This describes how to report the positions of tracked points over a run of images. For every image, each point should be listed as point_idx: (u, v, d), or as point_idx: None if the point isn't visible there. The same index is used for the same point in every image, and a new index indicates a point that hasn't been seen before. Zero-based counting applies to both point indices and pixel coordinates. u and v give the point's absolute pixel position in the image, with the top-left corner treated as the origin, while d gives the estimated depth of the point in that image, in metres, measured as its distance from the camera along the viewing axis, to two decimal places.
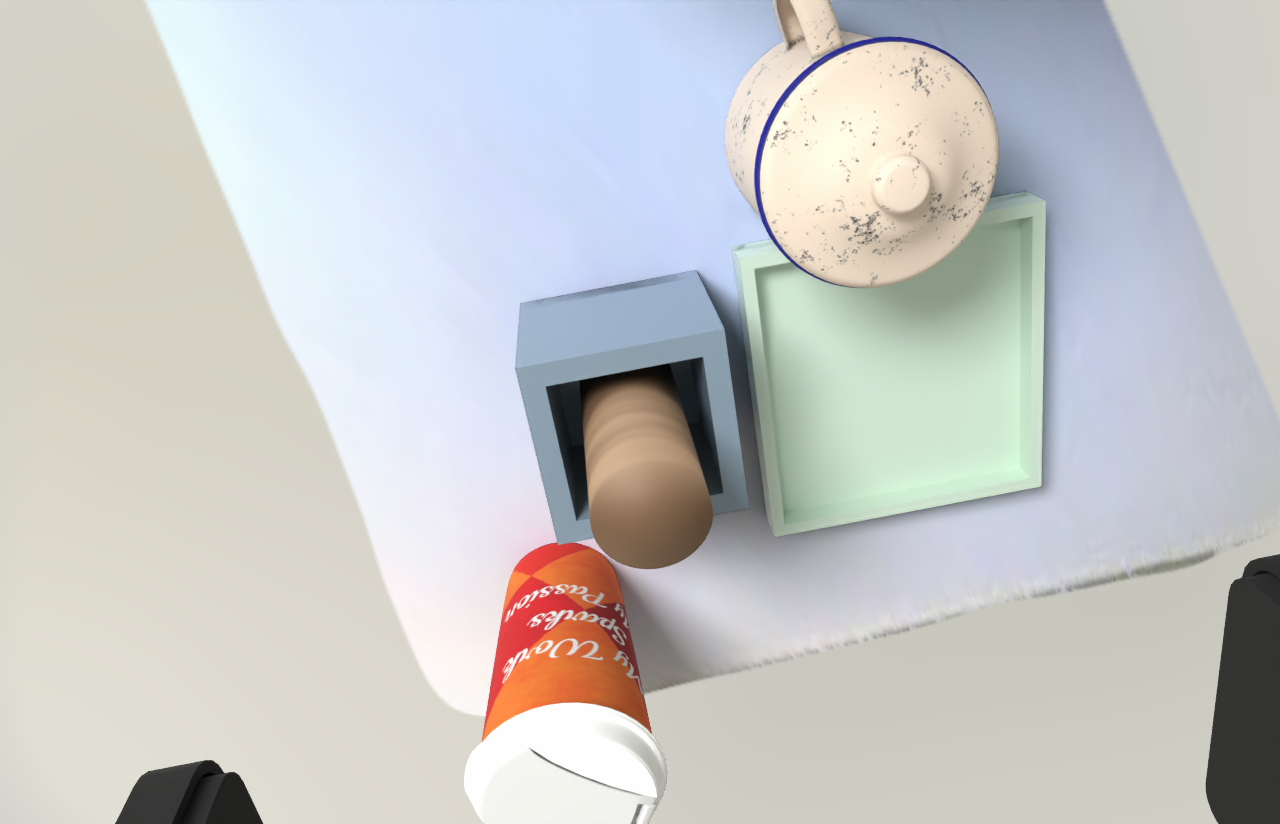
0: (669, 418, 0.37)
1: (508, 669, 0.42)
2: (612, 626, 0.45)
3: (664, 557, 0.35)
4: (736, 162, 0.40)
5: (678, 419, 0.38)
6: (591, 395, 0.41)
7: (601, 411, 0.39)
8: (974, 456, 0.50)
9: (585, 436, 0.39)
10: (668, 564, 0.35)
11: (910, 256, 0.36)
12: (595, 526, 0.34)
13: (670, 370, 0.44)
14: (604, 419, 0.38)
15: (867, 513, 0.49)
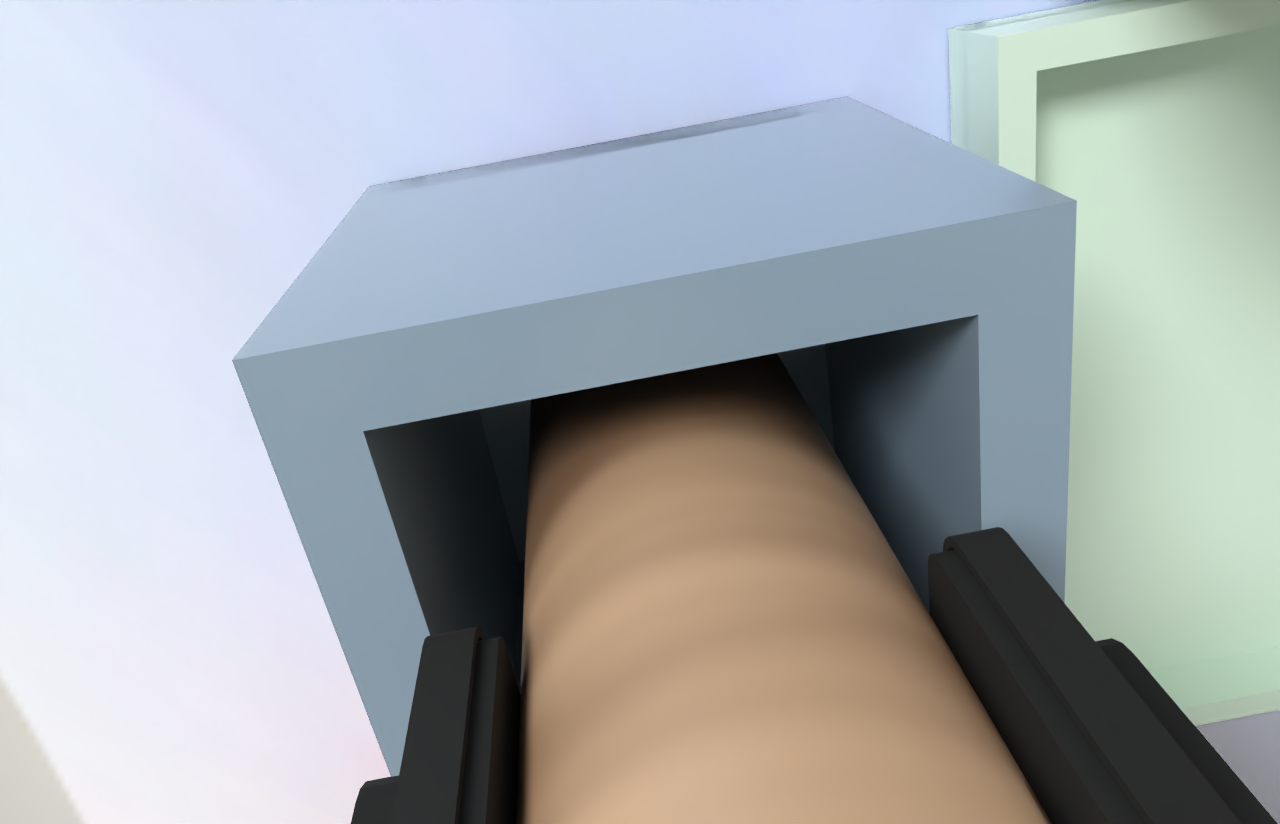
0: (871, 576, 0.09)
1: None
2: None
3: None
4: None
5: (891, 566, 0.09)
6: (553, 452, 0.12)
7: (582, 525, 0.10)
8: None
9: (525, 612, 0.11)
10: None
11: None
12: None
13: None
14: (592, 568, 0.09)
15: (1223, 708, 0.21)
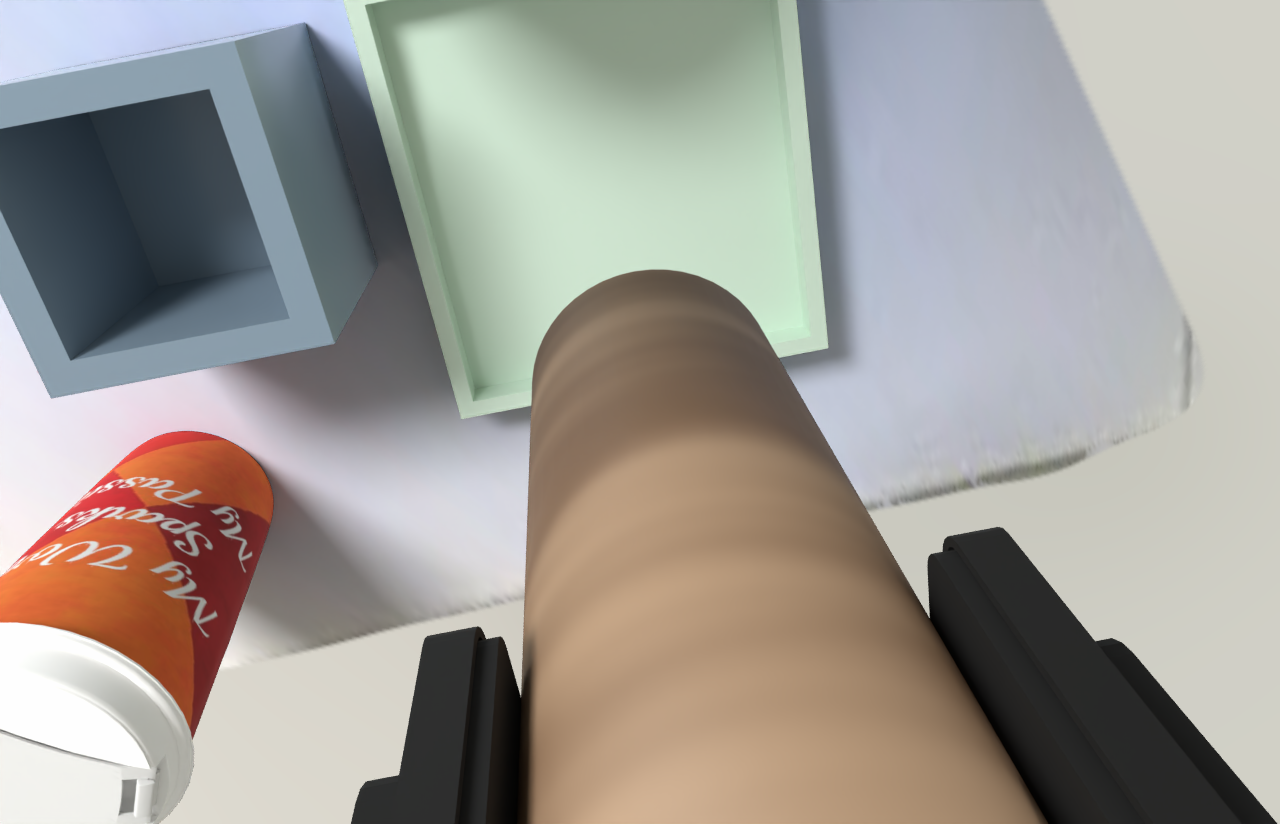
0: (871, 580, 0.09)
1: None
2: (184, 531, 0.32)
3: None
4: None
5: (891, 571, 0.10)
6: (554, 456, 0.12)
7: (583, 529, 0.10)
8: None
9: (526, 616, 0.11)
10: None
11: None
12: None
13: None
14: (593, 572, 0.09)
15: None
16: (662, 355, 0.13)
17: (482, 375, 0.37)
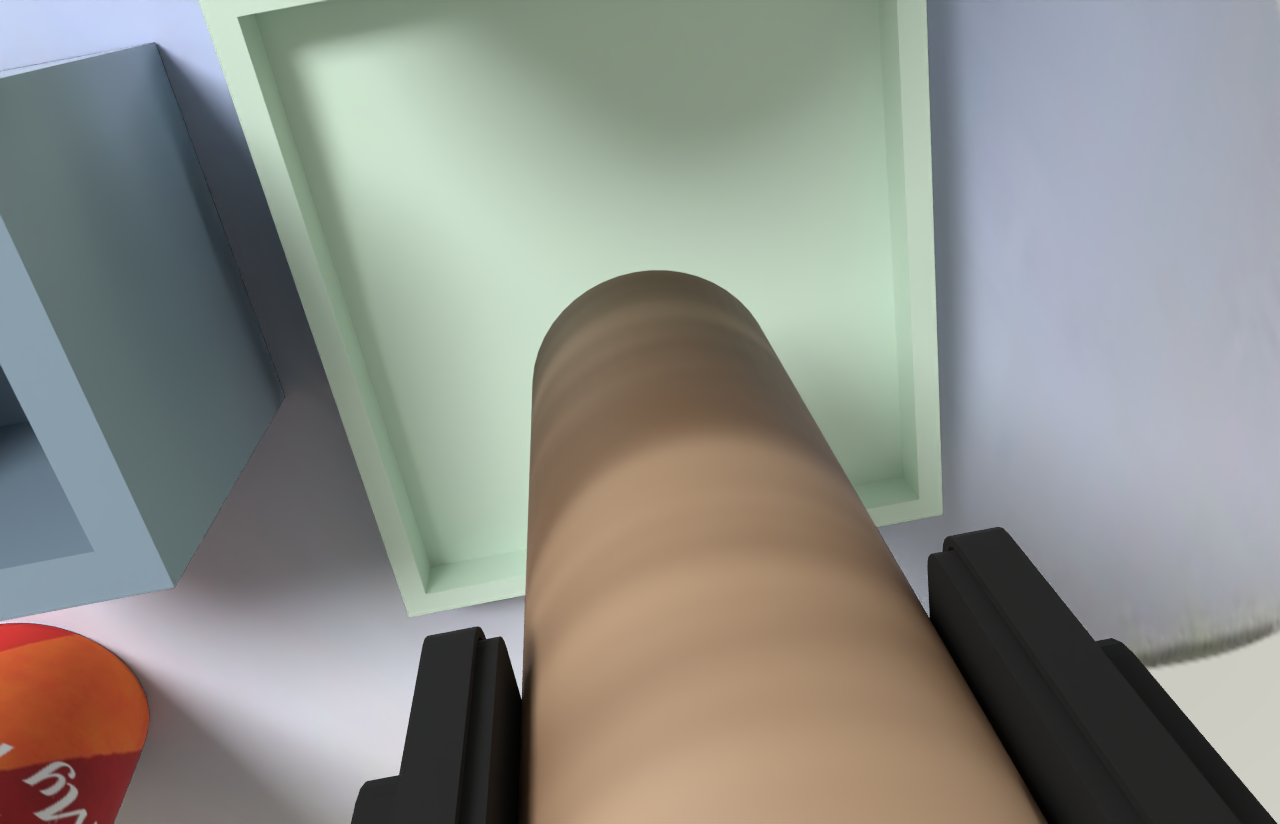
0: (872, 581, 0.09)
1: None
2: None
3: None
4: None
5: (892, 572, 0.10)
6: (554, 457, 0.12)
7: (583, 530, 0.10)
8: None
9: (526, 617, 0.11)
10: None
11: None
12: None
13: None
14: (593, 574, 0.09)
15: None
16: (662, 355, 0.13)
17: (440, 549, 0.25)
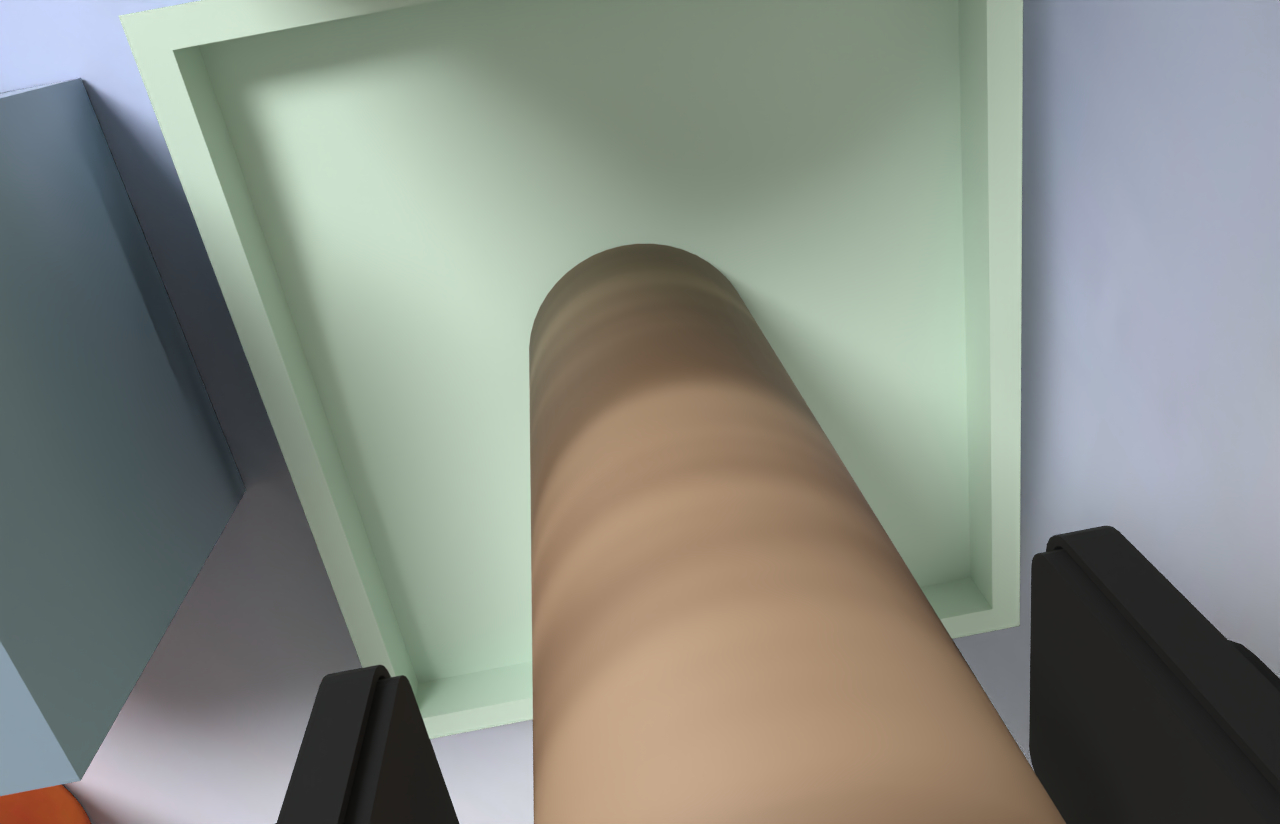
0: (835, 498, 0.10)
1: None
2: None
3: None
4: None
5: (854, 494, 0.11)
6: (554, 407, 0.14)
7: (583, 464, 0.12)
8: None
9: (533, 544, 0.12)
10: None
11: None
12: None
13: None
14: (594, 497, 0.11)
15: None
16: (650, 316, 0.14)
17: (429, 663, 0.22)
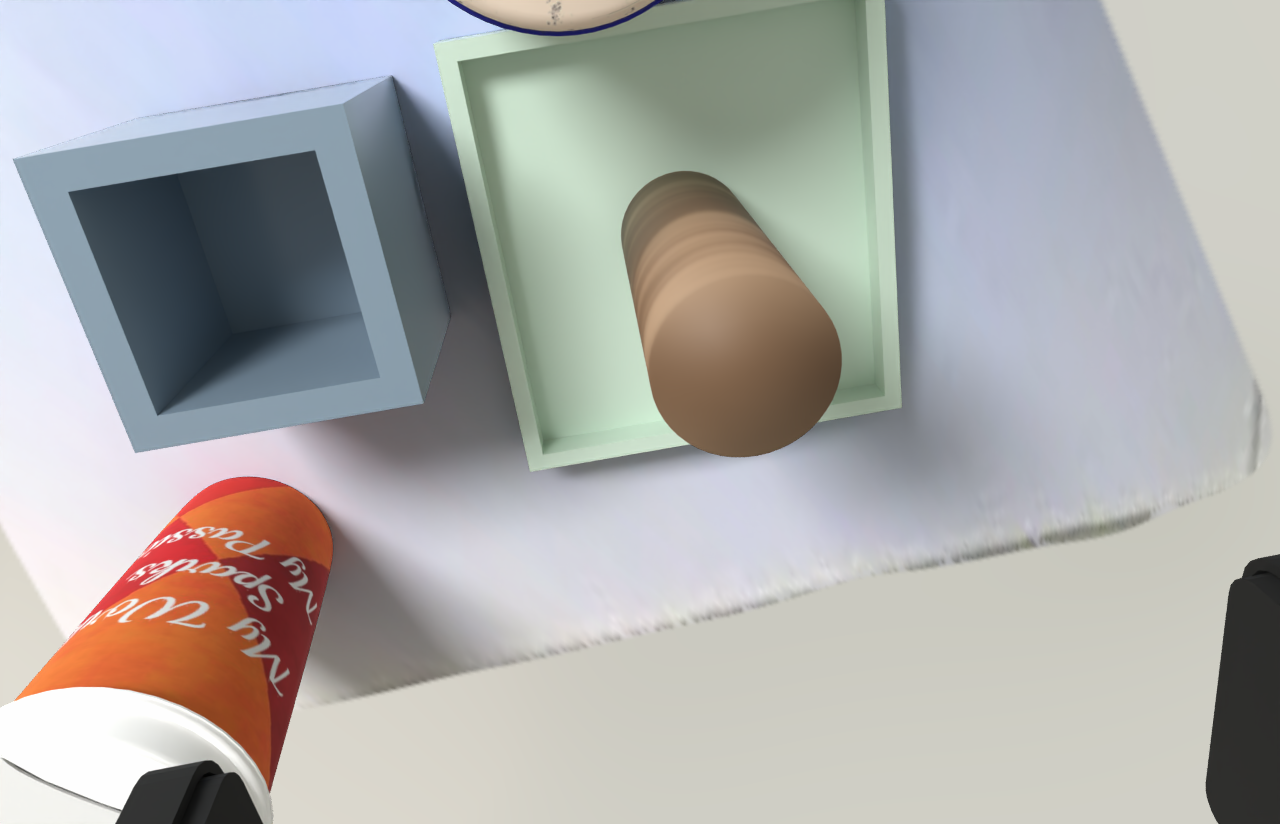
0: (765, 243, 0.25)
1: (67, 640, 0.28)
2: (256, 585, 0.31)
3: (762, 438, 0.23)
4: None
5: (775, 249, 0.26)
6: (642, 233, 0.29)
7: (660, 240, 0.26)
8: None
9: (635, 281, 0.27)
10: (768, 450, 0.23)
11: None
12: (657, 383, 0.22)
13: None
14: (665, 246, 0.25)
15: (658, 440, 0.36)
16: (690, 194, 0.29)
17: (551, 427, 0.36)
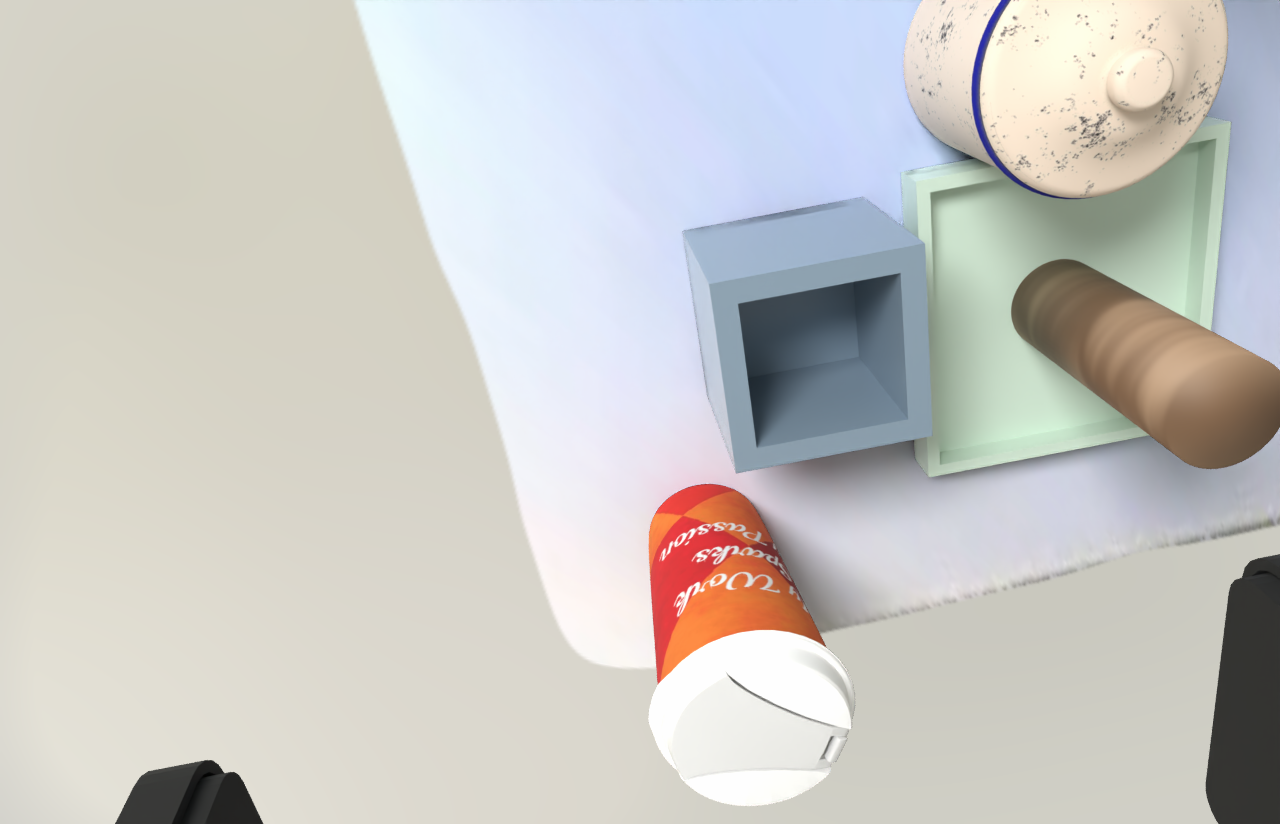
0: (1198, 324, 0.37)
1: (681, 602, 0.41)
2: (777, 563, 0.44)
3: (1230, 456, 0.35)
4: (926, 76, 0.39)
5: None
6: (1074, 312, 0.41)
7: (1111, 322, 0.39)
8: None
9: (1089, 349, 0.39)
10: (1231, 463, 0.35)
11: (1129, 162, 0.35)
12: (1171, 424, 0.34)
13: None
14: (1125, 328, 0.38)
15: (1024, 452, 0.48)
16: (1099, 283, 0.42)
17: (938, 444, 0.49)
